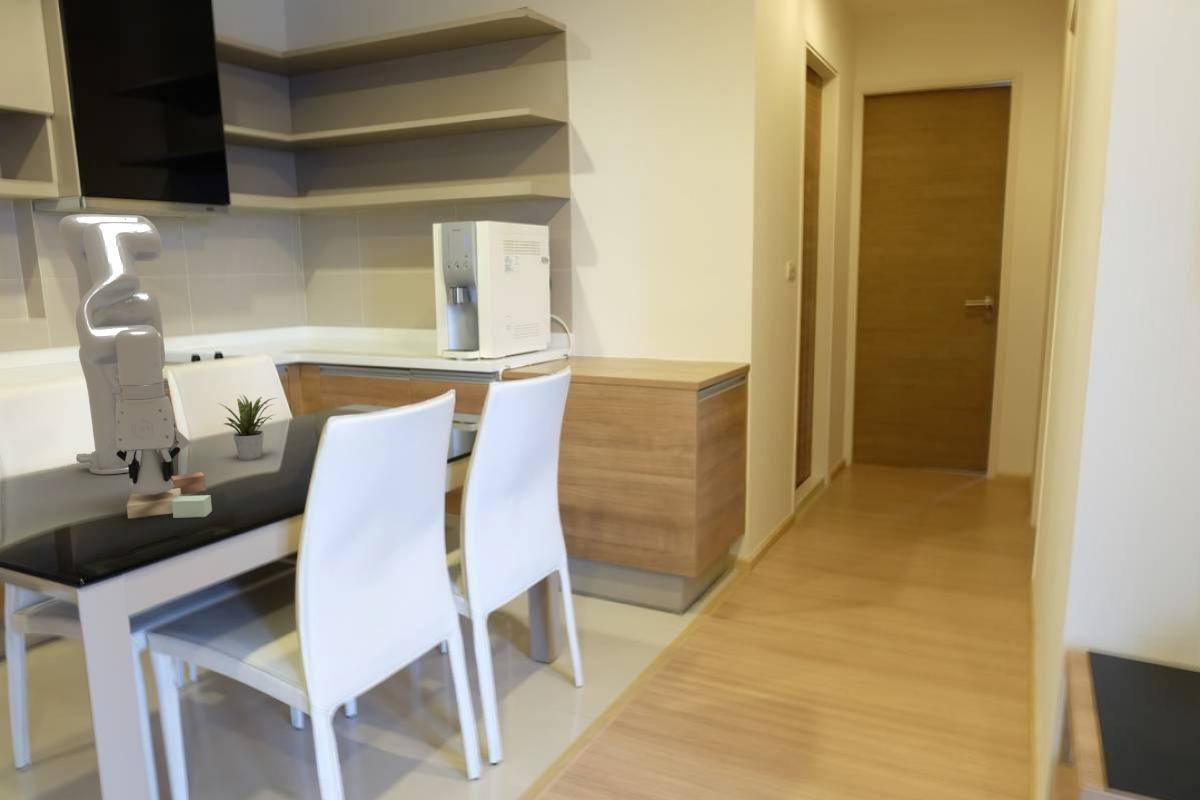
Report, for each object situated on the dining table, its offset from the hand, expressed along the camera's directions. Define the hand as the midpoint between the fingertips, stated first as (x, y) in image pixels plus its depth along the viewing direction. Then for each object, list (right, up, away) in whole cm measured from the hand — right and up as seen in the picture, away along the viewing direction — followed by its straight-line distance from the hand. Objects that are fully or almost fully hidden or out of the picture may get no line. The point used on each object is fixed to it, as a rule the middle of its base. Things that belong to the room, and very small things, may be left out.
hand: (152, 479), depth 162 cm
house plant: (+3, +1, +42) cm, 42 cm away
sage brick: (+9, -7, -3) cm, 12 cm away
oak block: (0, -6, +1) cm, 7 cm away
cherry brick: (+1, -4, +13) cm, 14 cm away
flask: (0, -2, 0) cm, 3 cm away
